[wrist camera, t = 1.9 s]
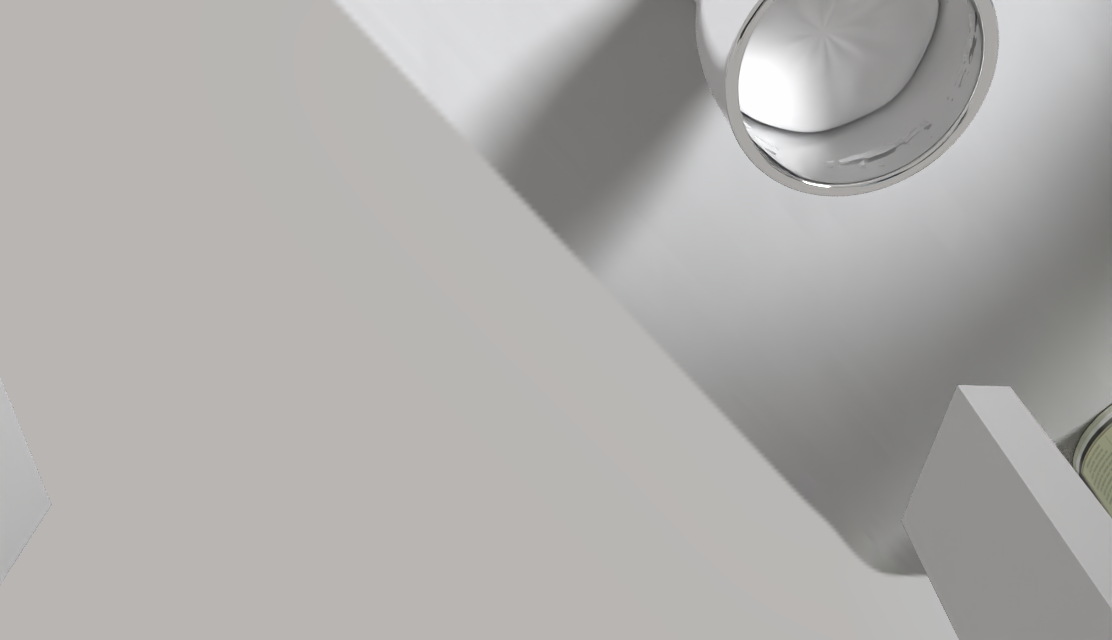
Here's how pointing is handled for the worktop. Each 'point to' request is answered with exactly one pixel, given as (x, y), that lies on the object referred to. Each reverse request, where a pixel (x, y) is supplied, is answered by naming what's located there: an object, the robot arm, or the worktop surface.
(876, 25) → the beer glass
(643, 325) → the worktop surface
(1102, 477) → the coffee can
